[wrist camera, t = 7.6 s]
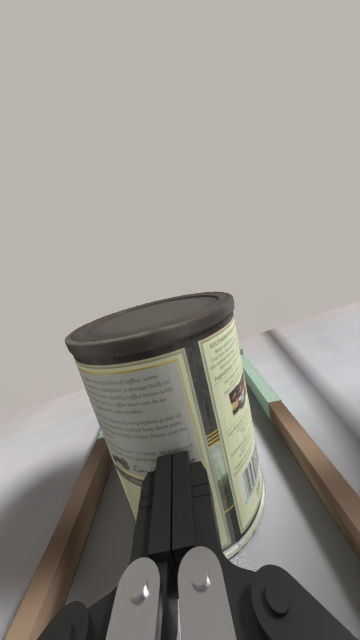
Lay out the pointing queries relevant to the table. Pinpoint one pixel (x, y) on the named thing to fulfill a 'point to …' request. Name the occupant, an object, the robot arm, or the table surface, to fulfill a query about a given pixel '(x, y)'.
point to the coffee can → (176, 400)
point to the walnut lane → (72, 530)
